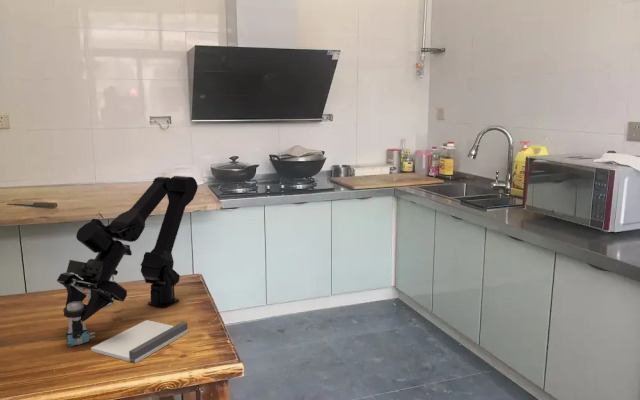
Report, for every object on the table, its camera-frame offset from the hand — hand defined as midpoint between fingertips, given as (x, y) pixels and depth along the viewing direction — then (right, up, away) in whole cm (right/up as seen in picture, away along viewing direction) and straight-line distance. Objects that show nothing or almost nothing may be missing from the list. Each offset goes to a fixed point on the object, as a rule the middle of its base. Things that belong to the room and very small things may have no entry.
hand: (73, 318), depth 123 cm
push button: (+1, -6, +2) cm, 7 cm away
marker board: (+15, -6, +3) cm, 17 cm away
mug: (-4, -2, +29) cm, 29 cm away
